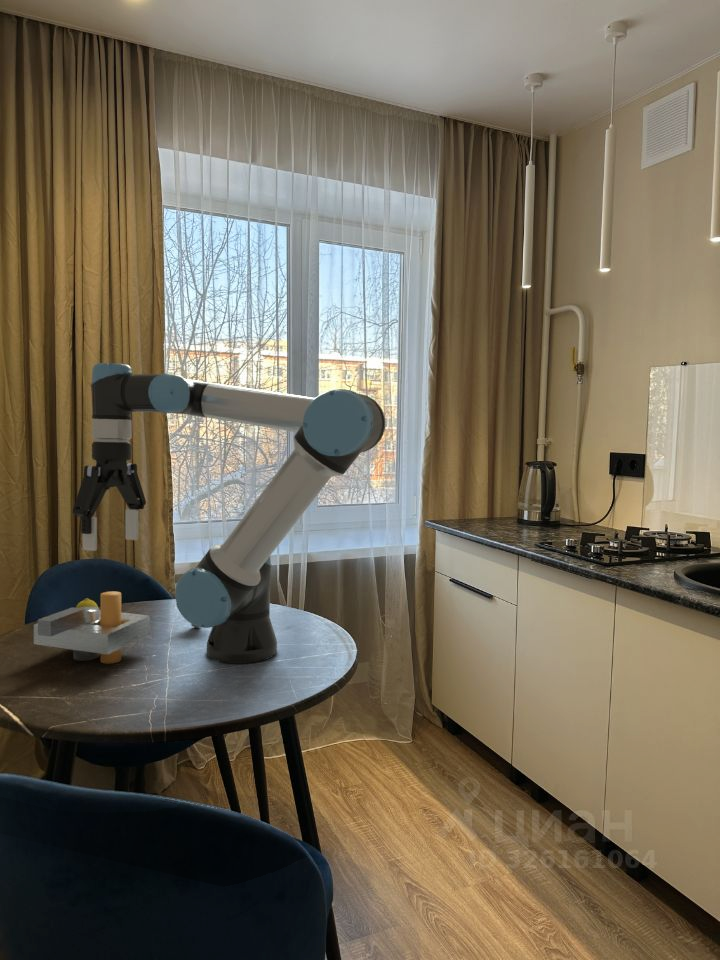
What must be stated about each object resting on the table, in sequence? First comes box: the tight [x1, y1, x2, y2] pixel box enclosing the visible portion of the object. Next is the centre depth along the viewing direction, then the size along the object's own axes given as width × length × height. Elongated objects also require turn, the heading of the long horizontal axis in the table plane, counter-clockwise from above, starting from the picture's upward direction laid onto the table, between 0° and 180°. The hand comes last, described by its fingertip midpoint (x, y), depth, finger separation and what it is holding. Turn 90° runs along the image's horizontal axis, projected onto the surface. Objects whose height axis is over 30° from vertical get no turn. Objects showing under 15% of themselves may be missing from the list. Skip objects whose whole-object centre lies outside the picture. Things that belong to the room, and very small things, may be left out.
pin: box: [100, 590, 122, 664], centre depth 136 cm, size 4×4×14 cm
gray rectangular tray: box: [33, 607, 151, 662], centre depth 135 cm, size 18×19×11 cm
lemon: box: [75, 597, 99, 608], centre depth 154 cm, size 6×6×8 cm
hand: (111, 544), depth 135 cm, fingers open, 13 cm apart
